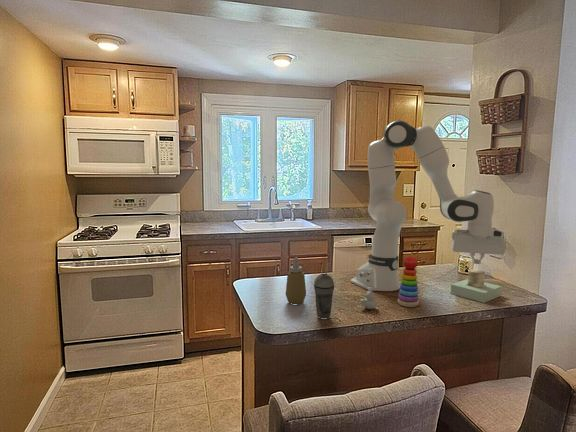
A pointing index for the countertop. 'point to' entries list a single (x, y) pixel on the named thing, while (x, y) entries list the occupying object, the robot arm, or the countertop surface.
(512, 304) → the countertop surface
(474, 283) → the peg
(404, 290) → the stacking toy
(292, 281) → the squeeze bottle
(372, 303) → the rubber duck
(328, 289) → the beverage cup
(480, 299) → the socket block
